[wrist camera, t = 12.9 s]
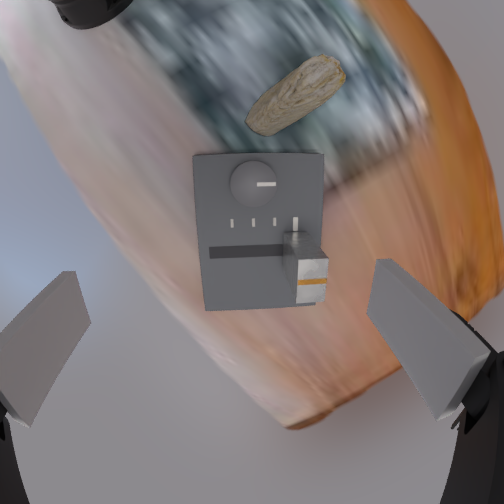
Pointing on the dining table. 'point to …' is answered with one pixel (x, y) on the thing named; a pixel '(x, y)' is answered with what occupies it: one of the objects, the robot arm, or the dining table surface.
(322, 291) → the fader
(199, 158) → the console
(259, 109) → the fossil tooth
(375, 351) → the dining table surface
